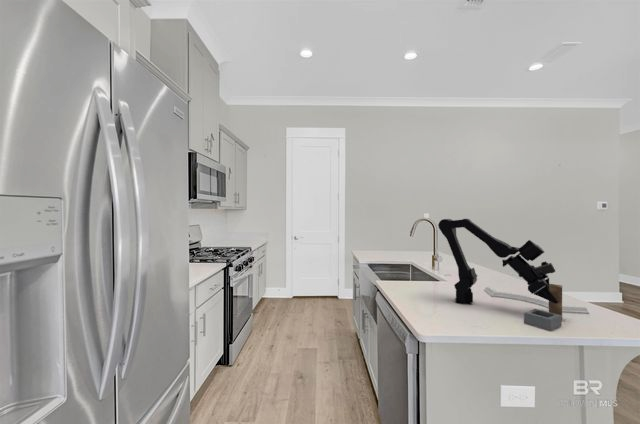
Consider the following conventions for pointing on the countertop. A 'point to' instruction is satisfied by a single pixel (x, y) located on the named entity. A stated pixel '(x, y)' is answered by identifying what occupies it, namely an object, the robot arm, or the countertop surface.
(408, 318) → the countertop surface
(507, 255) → the robot arm
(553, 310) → the tall wooden block
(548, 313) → the end cap
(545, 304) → the molding
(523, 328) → the countertop surface
